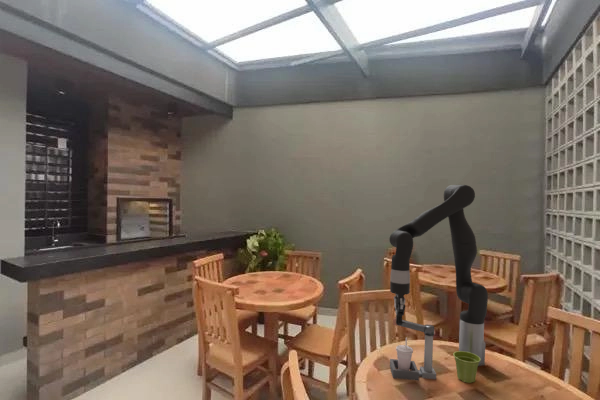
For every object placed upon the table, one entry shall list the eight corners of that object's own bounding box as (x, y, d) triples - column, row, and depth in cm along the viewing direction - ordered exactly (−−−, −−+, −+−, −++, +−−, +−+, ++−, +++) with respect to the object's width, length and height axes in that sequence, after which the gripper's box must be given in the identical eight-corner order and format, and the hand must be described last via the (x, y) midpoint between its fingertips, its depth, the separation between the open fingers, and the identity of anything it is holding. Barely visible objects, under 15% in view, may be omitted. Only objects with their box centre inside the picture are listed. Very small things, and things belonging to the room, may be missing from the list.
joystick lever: (435, 333, 134) (435, 326, 134) (432, 336, 131) (432, 328, 131) (396, 323, 144) (396, 316, 144) (392, 325, 142) (392, 318, 142)
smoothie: (413, 378, 131) (414, 341, 131) (395, 376, 133) (396, 339, 133) (411, 370, 138) (412, 335, 138) (394, 368, 139) (395, 333, 139)
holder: (431, 370, 138) (432, 330, 138) (437, 382, 129) (439, 340, 129) (389, 366, 140) (391, 327, 140) (392, 378, 131) (394, 336, 131)
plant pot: (453, 382, 129) (454, 359, 129) (451, 371, 138) (452, 349, 138) (481, 387, 126) (482, 364, 126) (477, 375, 135) (478, 353, 135)
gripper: (412, 285, 132) (411, 330, 132) (406, 278, 145) (405, 319, 145) (392, 283, 133) (391, 329, 133) (388, 277, 146) (387, 318, 146)
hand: (398, 324), depth 139 cm, fingers closed
